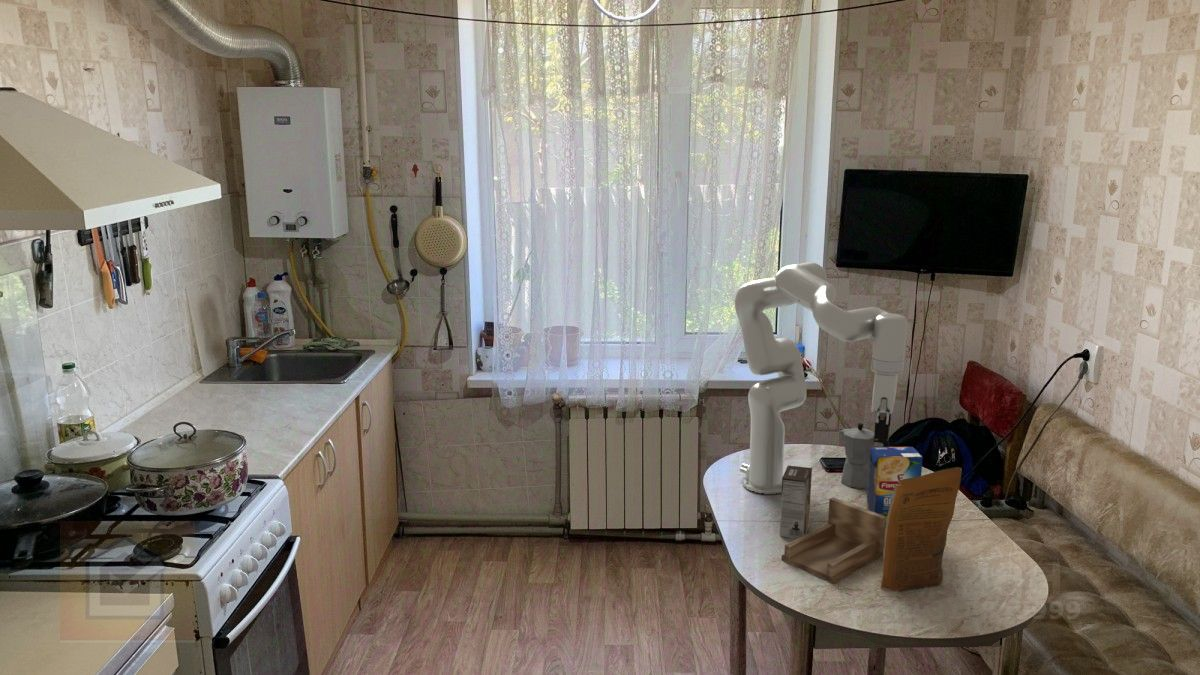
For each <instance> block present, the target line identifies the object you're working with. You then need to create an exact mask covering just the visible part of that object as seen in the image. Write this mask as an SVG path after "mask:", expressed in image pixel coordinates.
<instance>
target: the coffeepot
mask: <svg viewBox="0 0 1200 675" xmlns="http://www.w3.org/2000/svg"><path fill="white" fill-rule="evenodd" d="M863 427H864V424H863V423H860V422H859V423H857V427H852V428H840V429H838V430H837V432H838V433H839V434H840V436H841V438H842V440H843V442H844V449H845V450H844V451H845V456H846V457H845V462H844V465H843V469H842V474H841V478H840V482H841V483H842V484H843V485H845V486H846V485H847V487H850V488H853V487H854V489H865V488H866V489H867V487H868V473H869V459H870V447H874V445H875V443H882V444H883V445H882V447H891V446H890V445H891V443H890V441H889V440H883V439H875V438H874V432H875V431H872V430H870V429H867V428H863Z"/></svg>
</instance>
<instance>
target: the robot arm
mask: <svg viewBox="0 0 1200 675" xmlns="http://www.w3.org/2000/svg"><path fill="white" fill-rule="evenodd" d="M836 298H837V290H836V288H835V286H834V285H833V284H831V283H830V282H828V276H827V272H826V270H825V269H824V268H823V266H821V265H820V264H818V263H816V262H812V261H810V262H809V261H808V262H802V263H794V264H788V265H785V266H784V267H781V268H780V269H779V270H778V271H777V273H776V275H775V276H774V277H766V278H759V279H755V280H751V281H748V282H746V283H744V284H742V285H741V286H740V287H739V289H737V292H736V295H735V299H734V309H735V313H736V316H737V319H738V321H739V324H740V328H741V333H742V338H743V345H744V350H745V356H746V362H747V366H748V369H749V370H750V373H752V374H753V375H755V376H759V377H760V376H768V375H771V374H777V377H773V378H767V379H764V380H760V381H758V382H756V383H755V384H753V385H752V386H751V387H750V388H749V391H748V394H747V398H748V400H747V401H748V407H749V413H750V439H749V440H750V442H749V464H748V463H742V465H741V467H740V468H739V471H740V473H742V474H745V477H744V479H743V484H744V485H743V487H744V486H745V487H746V488H745V487H744V488H745V489H747V490H748V489H749V490H748V491H750V490H752V491H755V492H754V493H756V492H758V493H757V494H761V493H764V494H763V495H776V493H777V494H782V478H783V475H784V457H785V435H786V434H785V433H786V432H785V430H786V428H785V424H784V423H785V422H783V420H782V418H781V415H780V413H781V412H785V411H787V410H791V409H795V408H798V407H800V406H802V405H803V404H804V403H805V401H806V399H807V393H808V392H807V384H806V378H805V372H804V366H803V362H802V360H803V359H802V356H801V352H800V349H799V347H798V346H797V344H796V343H795V341H794V340H791V339H790V338H788V337H779V338H775V334H774V330H773V329H774V328H773V325H772V322H771V320H770V319H769V317H768V316H767V314H766V313H764V312H763V311H765V310H769V309H775V308H776V309H777V308H782V307H788V306H791V305H792V306H793V305H794V304H796V303H797V304H799V305H800V306H802V307H804V308H806V309H807V310H808V311H811V312H812V315H813V319H814V320H815V323H816V324H817V326H818V327H819V329H821V330H822V331H823V332H825V333H827V334H829V335H830V336H832V337H833V338H835V339H838V340H839V341H842V342H846V343H853V342H857V341H858V342H859V341H862V340H868V339H873V341H872V351H871V352H872V353H871V363H870V364H871V366H870V371H871V372H873V373H874V378H873V386H872V387H873V388H872V389H873V390H872V400H871V401H872V402H871V413H872V414H873V413H876V420H875V423H874V424H875V425H874V431H873V432H874V438H875V439H883V440H888V439H889V433H890V432H889V430H890V427H891V421H892V420H891V419H892V417H891V416H892V414H893V410H894V407H895V402H896V396H897V389H898V388H897V387H898V378H899V375H903V374H904V371H905V359H906V358H905V357H906V349H907V348H906V347H907V335H908V327H909V326H908V323H909V322H908V319H907V317H906V316H904V315H902V314H898V313H890V312H889V311H886V310H884V309H883V308H879V307H875V306H870V307H869V306H868V307H863V308H858V309H857V308H856V309H852V310H850V309H849V310H844V309H843V308H841V307H839V306H837V305H836V304H835V301H836ZM888 441H889V440H888ZM752 491H751V492H752Z"/></svg>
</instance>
